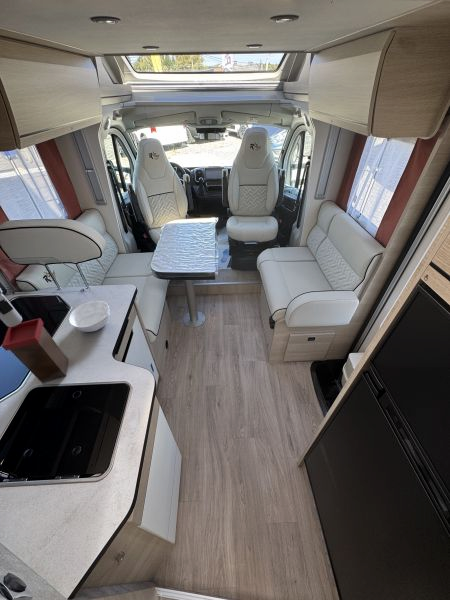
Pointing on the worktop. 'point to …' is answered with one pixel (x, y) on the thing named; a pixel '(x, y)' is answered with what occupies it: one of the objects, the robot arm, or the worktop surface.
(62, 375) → the pedestal
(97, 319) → the bowl
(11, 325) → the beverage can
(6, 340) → the red tray
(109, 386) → the worktop surface
